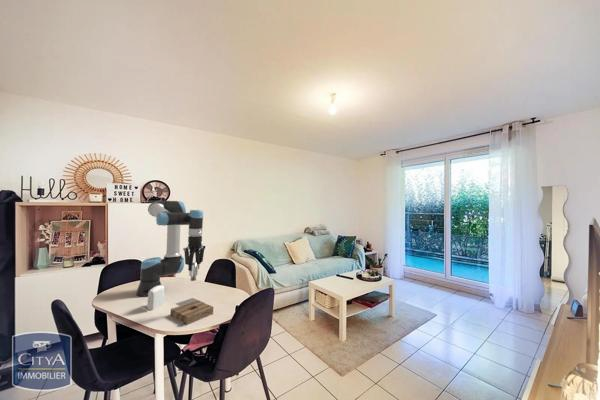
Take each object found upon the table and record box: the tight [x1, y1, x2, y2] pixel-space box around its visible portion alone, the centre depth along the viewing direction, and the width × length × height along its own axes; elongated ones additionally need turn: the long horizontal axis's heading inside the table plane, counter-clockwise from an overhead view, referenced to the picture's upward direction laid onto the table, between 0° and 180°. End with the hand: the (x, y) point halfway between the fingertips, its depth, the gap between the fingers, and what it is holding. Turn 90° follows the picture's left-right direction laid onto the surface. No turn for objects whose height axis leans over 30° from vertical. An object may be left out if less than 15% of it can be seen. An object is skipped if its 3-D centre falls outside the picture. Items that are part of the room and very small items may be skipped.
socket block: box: [169, 299, 214, 325], centre depth 133 cm, size 16×16×4 cm
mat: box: [175, 297, 205, 306], centre depth 148 cm, size 12×12×1 cm
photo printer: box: [146, 284, 165, 311], centre depth 142 cm, size 10×4×12 cm, turn 172°
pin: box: [190, 262, 197, 282], centre depth 139 cm, size 3×3×10 cm
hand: (193, 275), depth 139 cm, fingers closed on pin, 2 cm apart
